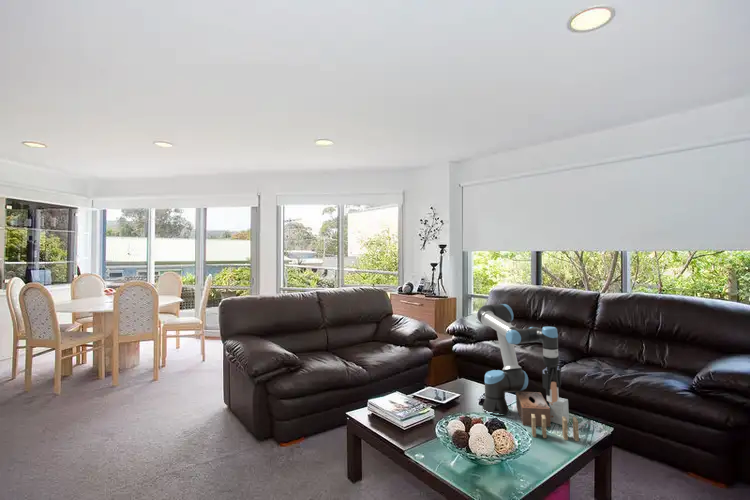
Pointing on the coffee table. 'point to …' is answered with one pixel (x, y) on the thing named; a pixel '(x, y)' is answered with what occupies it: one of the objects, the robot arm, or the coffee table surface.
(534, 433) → the domino
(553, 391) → the terracotta domino
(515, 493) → the coffee table surface
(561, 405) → the small box
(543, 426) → the domino
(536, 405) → the tissue box cover
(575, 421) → the domino
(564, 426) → the domino
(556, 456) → the coffee table surface
